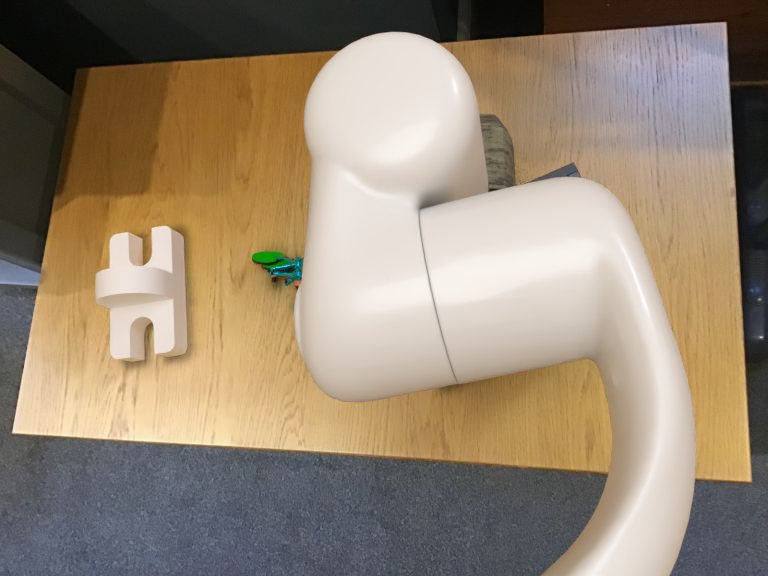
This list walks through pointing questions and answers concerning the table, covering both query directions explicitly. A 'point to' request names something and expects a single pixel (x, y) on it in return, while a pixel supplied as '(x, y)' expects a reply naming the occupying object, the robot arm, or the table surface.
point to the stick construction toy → (280, 266)
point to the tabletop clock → (497, 153)
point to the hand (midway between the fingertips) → (454, 271)
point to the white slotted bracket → (145, 294)
